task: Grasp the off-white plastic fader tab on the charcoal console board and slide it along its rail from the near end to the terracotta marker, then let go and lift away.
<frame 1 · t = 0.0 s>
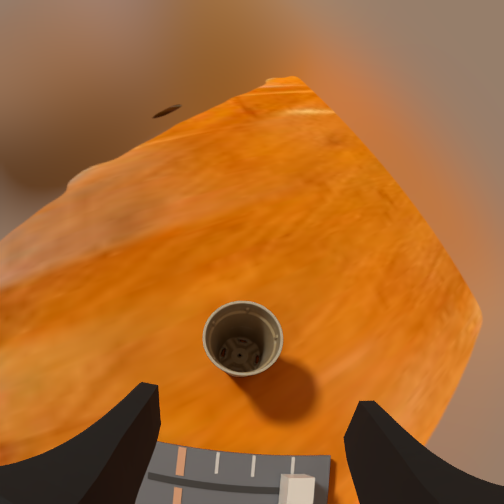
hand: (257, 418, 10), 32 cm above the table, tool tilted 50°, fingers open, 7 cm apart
flower pot: (239, 356, 43), on the table
fader: (295, 494, 28), point 5 cm above the table, slide at 0.0 cm
console: (226, 485, 32), on the table
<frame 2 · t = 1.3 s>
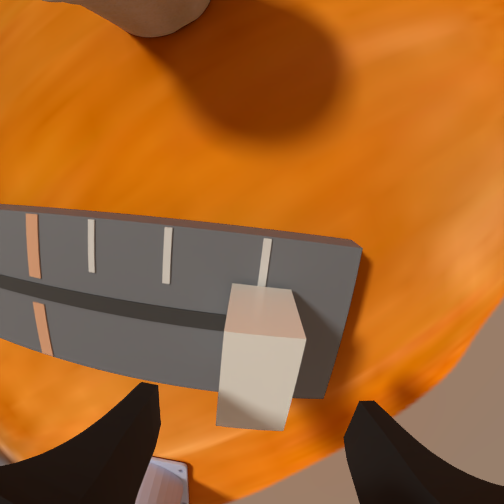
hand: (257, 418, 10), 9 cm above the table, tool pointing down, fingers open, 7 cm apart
fader: (256, 355, 14), point 5 cm above the table, slide at 0.0 cm
console: (128, 293, 19), on the table
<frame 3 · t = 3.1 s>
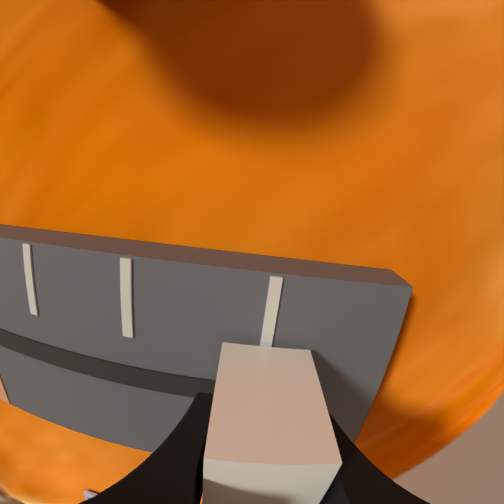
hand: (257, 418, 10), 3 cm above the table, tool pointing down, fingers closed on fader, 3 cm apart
fader: (258, 449, 9), point 5 cm above the table, slide at 0.0 cm, touching gripper
console: (88, 337, 13), on the table
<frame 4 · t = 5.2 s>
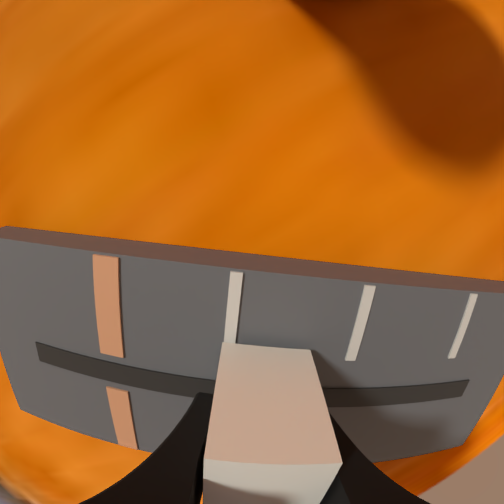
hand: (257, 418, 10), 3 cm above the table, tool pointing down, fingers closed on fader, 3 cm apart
fader: (258, 449, 9), point 5 cm above the table, slide at 8.2 cm, touching gripper
console: (262, 365, 13), on the table
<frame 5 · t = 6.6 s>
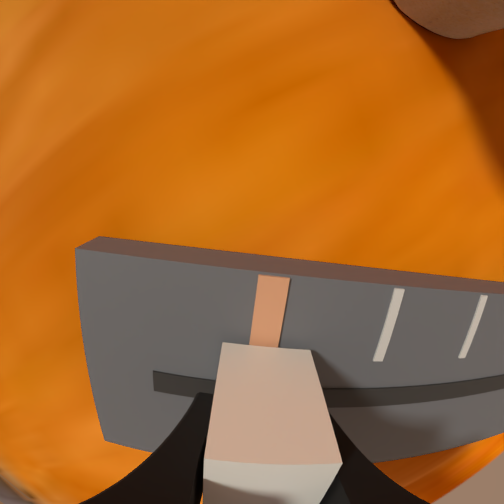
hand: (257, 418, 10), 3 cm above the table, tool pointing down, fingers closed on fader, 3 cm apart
fader: (258, 449, 9), point 5 cm above the table, slide at 13.9 cm, touching gripper
console: (379, 370, 13), on the table
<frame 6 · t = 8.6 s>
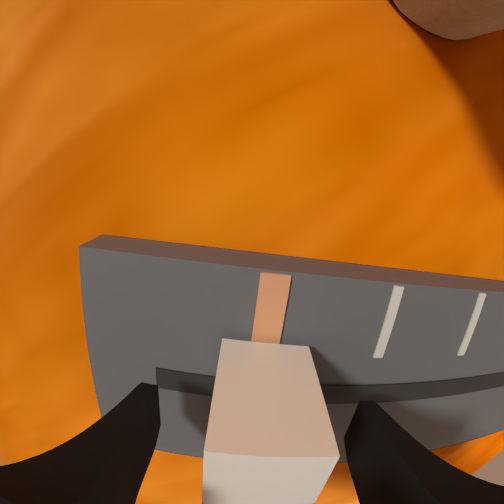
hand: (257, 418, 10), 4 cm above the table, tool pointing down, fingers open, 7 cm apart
fader: (257, 444, 9), point 5 cm above the table, slide at 14.0 cm
console: (379, 367, 14), on the table
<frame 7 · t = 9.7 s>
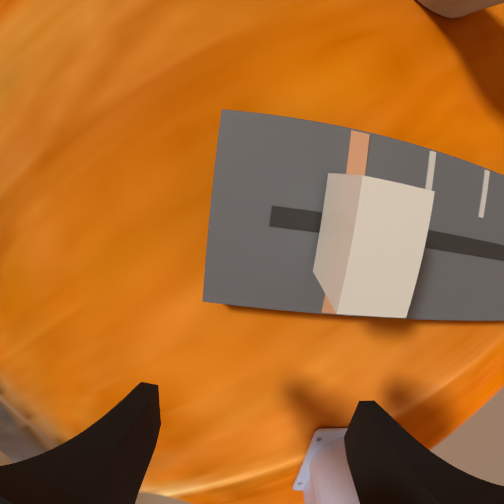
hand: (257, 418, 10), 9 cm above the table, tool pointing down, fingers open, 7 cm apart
fader: (365, 237, 13), point 5 cm above the table, slide at 14.0 cm
console: (423, 233, 18), on the table
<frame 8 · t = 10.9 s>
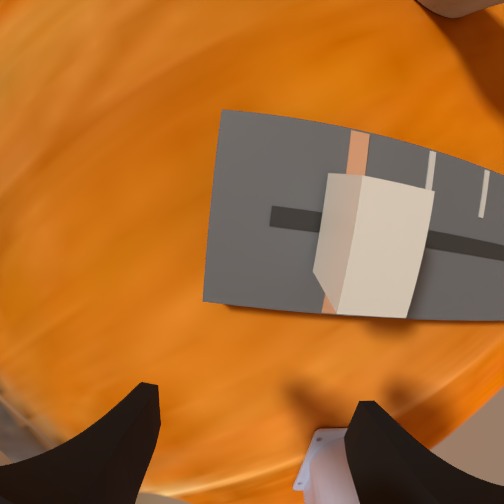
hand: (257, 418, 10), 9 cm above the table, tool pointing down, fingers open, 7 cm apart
fader: (365, 237, 13), point 5 cm above the table, slide at 14.0 cm
console: (423, 233, 18), on the table
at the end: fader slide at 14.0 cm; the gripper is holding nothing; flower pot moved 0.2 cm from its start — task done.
